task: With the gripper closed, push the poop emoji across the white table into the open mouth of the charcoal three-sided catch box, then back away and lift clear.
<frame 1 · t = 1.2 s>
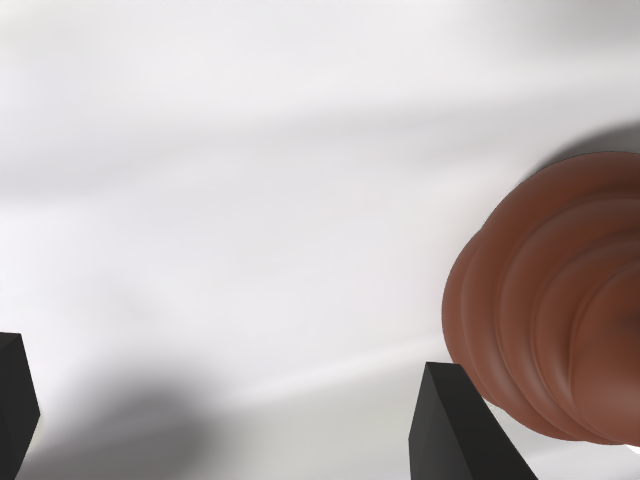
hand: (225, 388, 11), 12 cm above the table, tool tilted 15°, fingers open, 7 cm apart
poop emoji: (567, 278, 22), on the table
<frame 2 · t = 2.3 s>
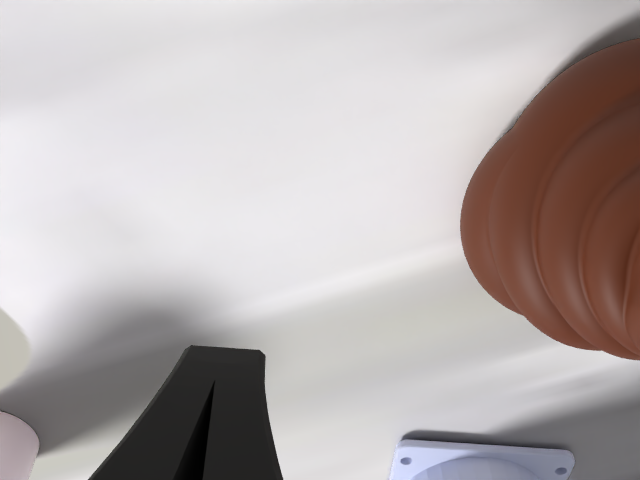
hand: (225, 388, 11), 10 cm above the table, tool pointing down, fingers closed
smoothie: (0, 434, 28), on the table
poop emoji: (593, 175, 20), on the table
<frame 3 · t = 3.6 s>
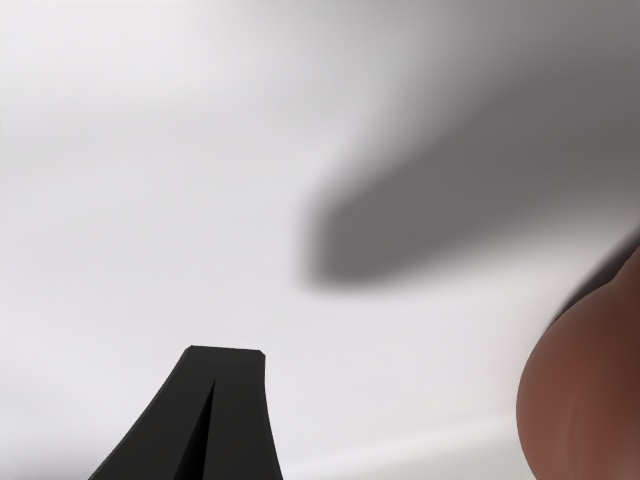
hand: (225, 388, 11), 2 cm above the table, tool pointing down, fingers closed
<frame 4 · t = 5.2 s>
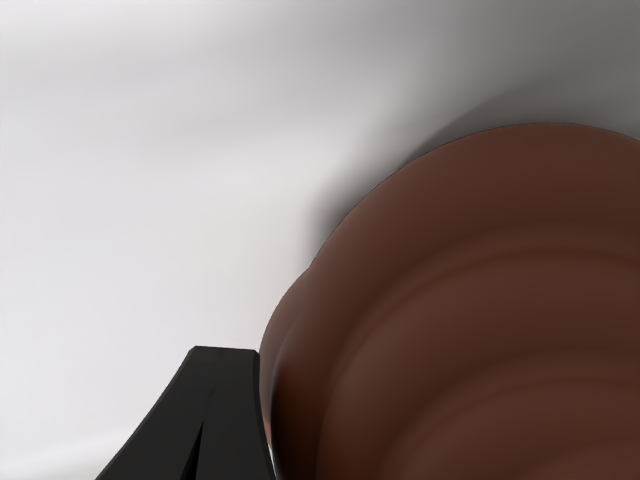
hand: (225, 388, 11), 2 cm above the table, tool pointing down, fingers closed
poop emoji: (469, 314, 13), on the table, touching gripper
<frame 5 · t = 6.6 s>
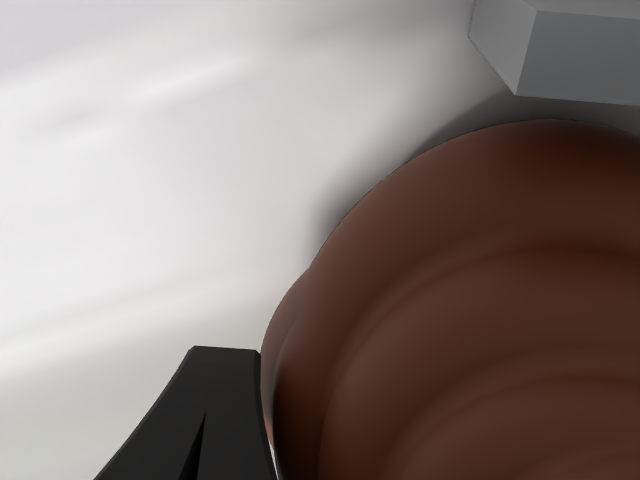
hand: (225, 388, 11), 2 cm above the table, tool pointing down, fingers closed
poop emoji: (471, 312, 13), on the table, touching gripper
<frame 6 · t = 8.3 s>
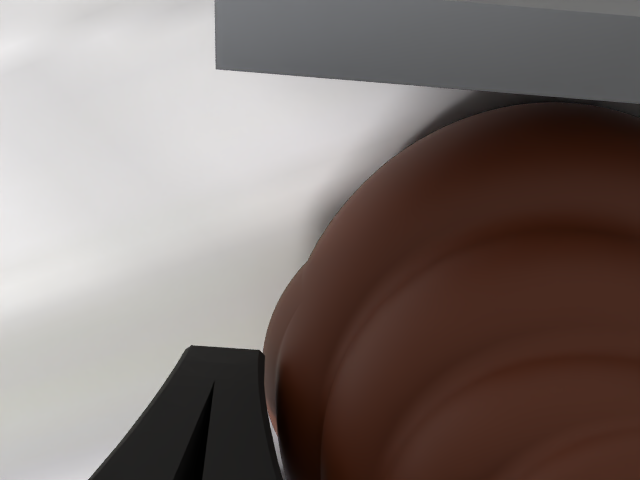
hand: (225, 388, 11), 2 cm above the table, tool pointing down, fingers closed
poop emoji: (475, 301, 13), on the table, touching gripper
catch box: (539, 327, 13), on the table
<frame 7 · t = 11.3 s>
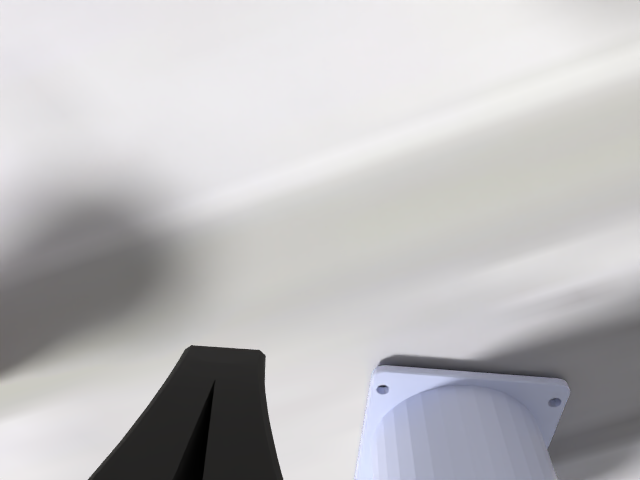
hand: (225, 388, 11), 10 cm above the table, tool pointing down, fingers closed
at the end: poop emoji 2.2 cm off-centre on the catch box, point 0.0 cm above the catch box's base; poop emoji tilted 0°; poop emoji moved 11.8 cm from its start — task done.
